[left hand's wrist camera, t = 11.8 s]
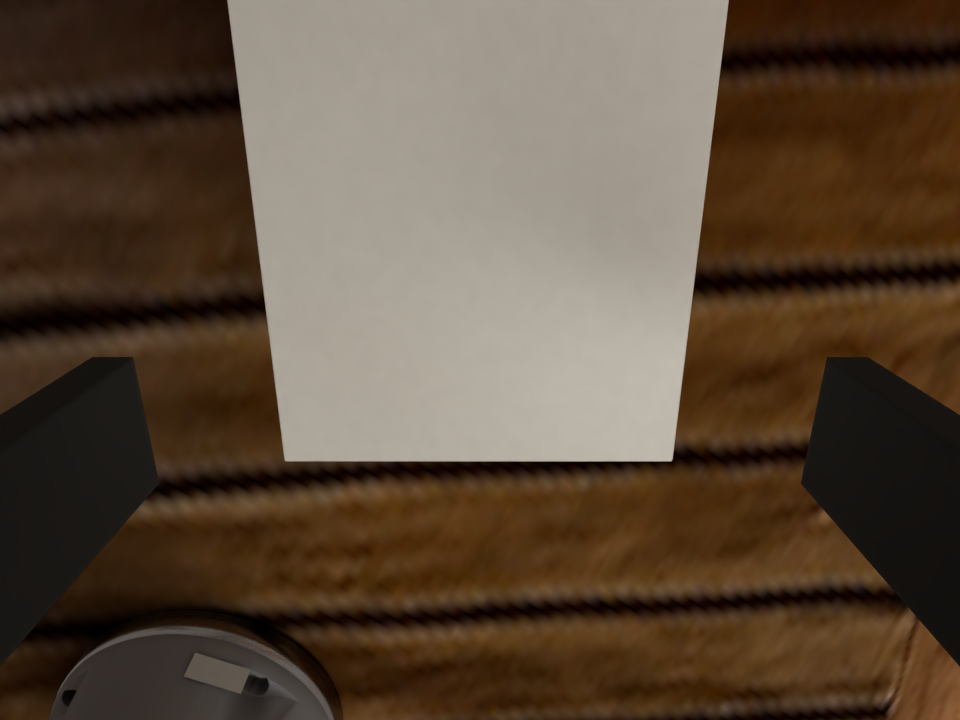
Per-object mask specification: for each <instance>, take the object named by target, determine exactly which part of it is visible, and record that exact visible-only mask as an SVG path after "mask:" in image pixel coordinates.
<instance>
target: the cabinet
mask: <svg viewBox="0 0 960 720" xmlns="http://www.w3.org/2000/svg"><path fill="white" fill-rule="evenodd" d="M227 2H228V10H229V18H230V26H231V34H232V42H233V50H234V58H235V66H236V74H237V82H238V90H239V98H240V106H241V114H242V122H243V130H244V138H245V146H246V154H247V162H248V170H249V178H250V186H251V194H252V202H253V210H254V218H255V226H256V234H257V242H258V250H259V259H260V267H261V275H262V283H263V291H264V299H265V307H266V315H267V323H268V331H269V339H270V347H271V355H272V363H273V371H274V379H275V387H276V395H277V403H278V411H279V419H280V427H281V435H282V443H283V451H284V459H285V461H672V459H673V451H674V443H675V435H676V427H677V418H678V410H679V402H680V394H681V386H682V378H683V369H684V361H685V353H686V345H687V337H688V329H689V321H690V312H691V304H692V296H693V288H694V280H695V272H696V263H697V255H698V247H699V239H700V231H701V223H702V214H703V206H704V198H705V190H706V182H707V174H708V166H709V157H710V149H711V141H712V133H713V125H714V117H715V108H716V100H717V92H718V84H719V76H720V68H721V60H722V51H723V43H724V35H725V27H726V19H727V11H728V2H729V0H227Z"/></svg>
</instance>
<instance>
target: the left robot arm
mask: <svg viewBox="0 0 960 720" xmlns="http://www.w3.org/2000/svg"><path fill="white" fill-rule="evenodd" d="M158 484H159V480H158V476H157V471H156V466H155V461H154V456H153V452H152V447H151V442H150V437H149V432H148V428H147V423H146V418H145V413H144V409H143V404H142V399H141V394H140V389H139V385H138V380H137V375H136V370H135V365H134V361H133V357H92V358H90V359H89V360H87V361H86V362H84V363H82V364H81V365H79V366H78V367H76V368H74V369H73V370H71V371H70V372H68V373H66V374H65V375H63V376H62V377H60V378H59V379H57V380H55V381H54V382H52V383H51V384H49V385H47V386H46V387H44V388H43V389H41V390H39V391H38V392H36V393H35V394H33V395H31V396H30V397H28V398H27V399H25V400H24V401H22V402H20V403H19V404H17V405H16V406H14V407H12V408H11V409H9V410H8V411H6V412H4V413H3V414H1V415H0V666H1V665H2V664H3V663H4V661H5V660H6V659H7V658H8V657H9V656H10V655H11V653H12V652H13V651H14V650H15V649H16V648H17V646H18V645H19V644H20V643H21V642H22V641H23V640H24V638H25V637H26V636H27V635H28V634H29V633H30V631H31V630H32V629H33V628H34V627H35V626H36V625H37V623H38V622H39V621H40V620H41V619H42V618H43V616H44V615H45V614H46V613H47V612H48V611H49V610H50V608H51V607H52V606H53V605H54V604H55V603H56V602H57V600H58V599H59V598H60V597H61V596H62V595H63V593H64V592H65V591H66V590H67V589H68V588H69V587H70V585H71V584H72V583H73V582H74V581H75V580H76V578H77V577H78V576H79V575H80V574H81V573H82V572H83V570H84V569H85V568H86V567H87V566H88V565H89V563H90V562H91V561H92V560H93V559H94V558H95V557H96V555H97V554H98V553H99V552H100V551H101V550H102V549H103V547H104V546H105V545H106V544H107V543H108V542H109V540H110V539H111V538H112V537H113V536H114V535H115V534H116V532H117V531H118V530H119V529H120V528H121V527H122V525H123V524H124V523H125V522H126V521H127V520H128V519H129V517H130V516H131V515H132V514H133V513H134V512H135V510H136V509H137V508H138V507H139V506H140V505H141V504H142V502H143V501H144V500H145V499H146V498H147V497H148V496H149V494H150V493H151V492H152V491H153V490H154V489H155V487H156V486H157V485H158ZM801 484H802V485H803V486H804V487H805V489H806V490H807V491H808V492H809V493H810V494H811V496H812V497H813V498H814V499H815V500H816V501H817V502H818V504H819V505H820V506H821V507H822V508H823V509H824V510H825V512H826V513H827V514H828V515H829V516H830V517H831V519H832V520H833V521H834V522H835V523H836V524H837V525H838V527H839V528H840V529H841V530H842V531H843V532H844V534H845V535H846V536H847V537H848V538H849V539H850V540H851V542H852V543H853V544H854V545H855V546H856V547H857V549H858V550H859V551H860V552H861V553H862V554H863V555H864V557H865V558H866V559H867V560H868V561H869V562H870V563H871V565H872V566H873V567H874V568H875V569H876V570H877V572H878V573H879V574H880V575H881V576H882V577H883V578H884V580H885V581H886V582H887V583H888V584H889V585H890V587H891V588H892V589H893V590H894V591H895V592H896V593H897V595H898V596H899V597H900V598H901V599H902V600H903V602H904V603H905V604H906V605H907V606H908V607H909V608H910V610H911V611H912V612H913V613H914V614H915V615H916V616H917V618H918V619H919V620H920V621H921V622H922V623H923V625H924V626H925V627H926V628H927V629H928V630H929V631H930V633H931V634H932V635H933V636H934V637H935V638H936V640H937V641H938V642H939V643H940V644H941V645H942V646H943V648H944V649H945V650H946V651H947V652H948V653H949V655H950V656H951V657H952V658H953V659H954V660H955V661H956V663H957V664H958V665H959V666H960V415H959V414H957V413H956V412H954V411H952V410H951V409H949V408H948V407H946V406H944V405H943V404H941V403H940V402H938V401H936V400H935V399H933V398H932V397H930V396H929V395H927V394H925V393H924V392H922V391H921V390H919V389H917V388H916V387H914V386H913V385H911V384H909V383H908V382H906V381H905V380H903V379H901V378H900V377H898V376H897V375H895V374H894V373H892V372H890V371H889V370H887V369H886V368H884V367H882V366H881V365H879V364H878V363H876V362H874V361H873V360H871V359H870V358H868V357H827V361H826V365H825V370H824V375H823V380H822V385H821V389H820V394H819V399H818V404H817V409H816V413H815V418H814V423H813V428H812V432H811V437H810V442H809V447H808V452H807V456H806V461H805V466H804V471H803V476H802V480H801ZM49 720H343V715H342V709H341V705H340V702H339V699H338V696H337V694H336V691H335V689H334V687H333V685H332V684H331V682H330V680H329V679H328V677H327V676H326V674H325V673H324V672H323V670H322V669H321V668H320V667H319V665H318V664H317V663H316V662H315V661H314V660H313V659H312V658H311V657H310V656H309V655H308V654H306V653H305V652H304V651H303V650H302V649H301V648H299V647H298V646H297V645H295V644H294V643H293V642H291V641H289V640H288V639H286V638H285V637H283V636H281V635H280V634H278V633H276V632H274V631H272V630H270V629H268V628H266V627H263V626H261V625H259V624H256V623H254V622H251V621H248V620H245V619H242V618H238V617H234V616H231V615H226V614H221V613H215V612H207V611H196V610H178V611H165V612H158V613H153V614H148V615H144V616H140V617H137V618H134V619H131V620H129V621H126V622H124V623H122V624H119V625H117V626H116V627H114V628H112V629H110V630H109V631H107V632H106V633H104V634H103V635H102V636H100V637H99V638H98V639H97V640H96V641H95V642H93V643H92V644H91V645H90V647H89V648H88V649H87V650H86V651H85V652H84V654H83V655H82V657H81V658H80V659H79V661H78V662H77V663H76V665H75V666H74V667H73V669H72V670H71V671H70V673H69V674H68V676H67V677H66V679H65V680H64V682H63V683H62V685H61V687H60V689H59V691H58V693H57V696H56V699H55V701H54V703H53V706H52V709H51V712H50V715H49Z"/></svg>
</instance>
